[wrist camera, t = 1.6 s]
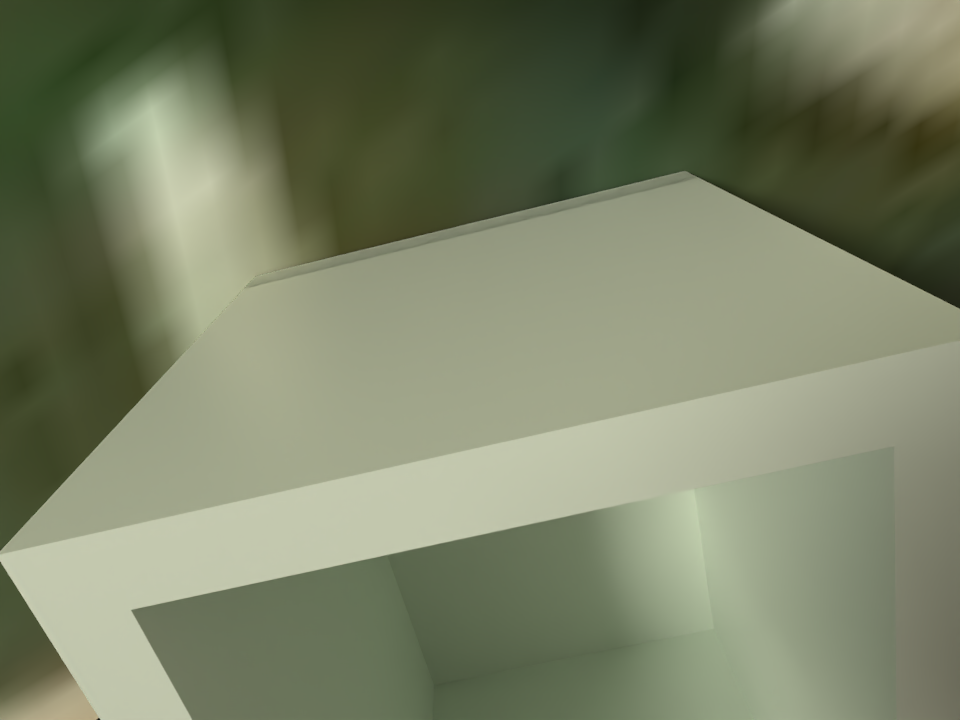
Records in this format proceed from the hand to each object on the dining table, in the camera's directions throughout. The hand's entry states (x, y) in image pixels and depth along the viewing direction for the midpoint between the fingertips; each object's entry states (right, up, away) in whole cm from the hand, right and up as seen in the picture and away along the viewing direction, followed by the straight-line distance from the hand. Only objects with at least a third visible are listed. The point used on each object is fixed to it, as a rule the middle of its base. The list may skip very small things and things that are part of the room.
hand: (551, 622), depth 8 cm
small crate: (0, +1, +3) cm, 3 cm away
